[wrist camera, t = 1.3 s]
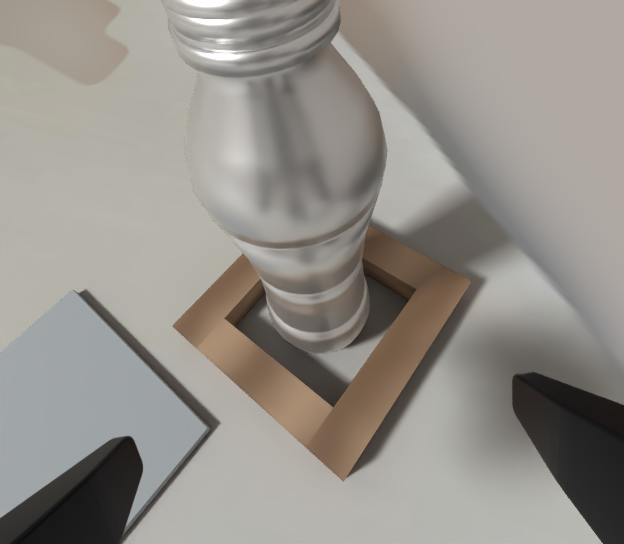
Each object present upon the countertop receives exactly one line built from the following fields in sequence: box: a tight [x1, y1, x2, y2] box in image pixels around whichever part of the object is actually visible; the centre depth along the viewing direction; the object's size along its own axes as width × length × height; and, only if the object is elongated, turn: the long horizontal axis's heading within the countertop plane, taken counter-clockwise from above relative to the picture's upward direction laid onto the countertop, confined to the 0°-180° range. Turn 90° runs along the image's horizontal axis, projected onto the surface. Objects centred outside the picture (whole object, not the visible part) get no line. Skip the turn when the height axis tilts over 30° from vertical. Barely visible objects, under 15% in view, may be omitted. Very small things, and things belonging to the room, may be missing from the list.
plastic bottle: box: [161, 0, 387, 354], centre depth 15 cm, size 6×7×20 cm
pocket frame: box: [173, 226, 472, 482], centre depth 23 cm, size 14×14×2 cm
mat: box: [0, 290, 211, 535], centre depth 21 cm, size 16×16×1 cm
